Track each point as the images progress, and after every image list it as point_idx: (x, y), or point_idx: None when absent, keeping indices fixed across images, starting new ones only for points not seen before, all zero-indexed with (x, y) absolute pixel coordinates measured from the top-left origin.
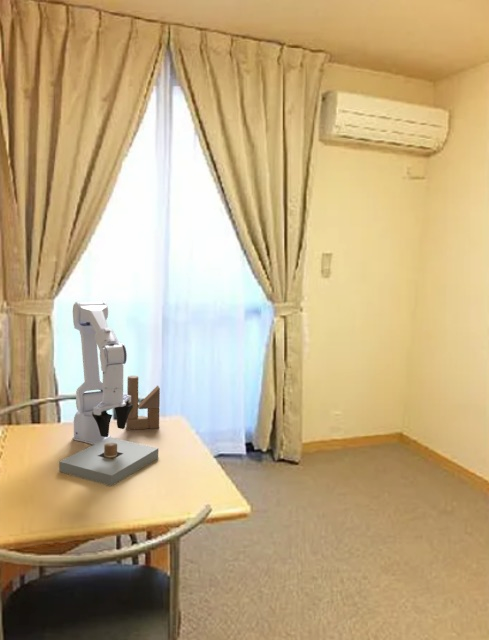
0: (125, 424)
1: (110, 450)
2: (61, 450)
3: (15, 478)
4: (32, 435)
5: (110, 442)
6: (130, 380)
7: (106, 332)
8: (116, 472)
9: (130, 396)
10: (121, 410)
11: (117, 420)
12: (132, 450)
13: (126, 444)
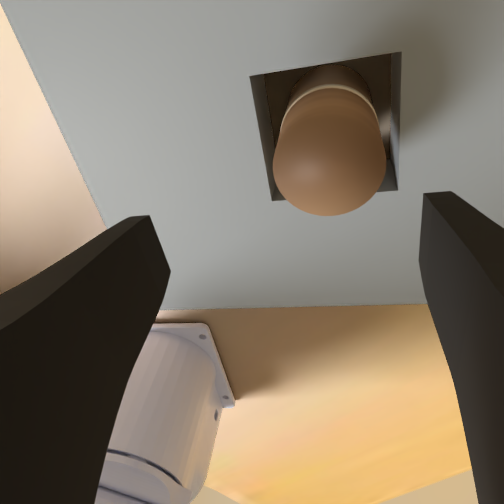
0: (103, 233)
1: (372, 120)
2: (336, 377)
3: None
4: (298, 480)
5: (189, 264)
6: None
7: None
8: None
9: None
10: (47, 415)
11: (142, 330)
12: (161, 64)
13: (132, 178)
